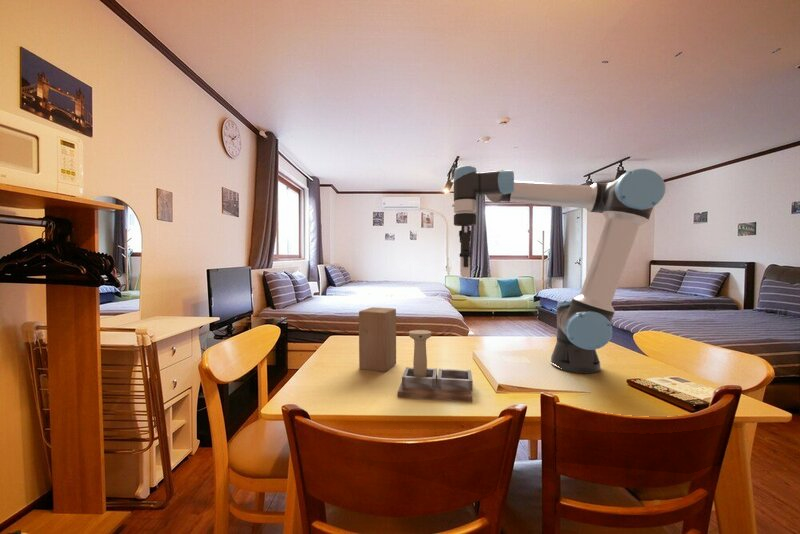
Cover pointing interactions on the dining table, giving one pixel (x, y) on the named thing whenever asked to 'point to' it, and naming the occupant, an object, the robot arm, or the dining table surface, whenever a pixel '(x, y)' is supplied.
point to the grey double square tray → (437, 385)
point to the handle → (420, 351)
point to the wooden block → (377, 339)
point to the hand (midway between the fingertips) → (464, 276)
